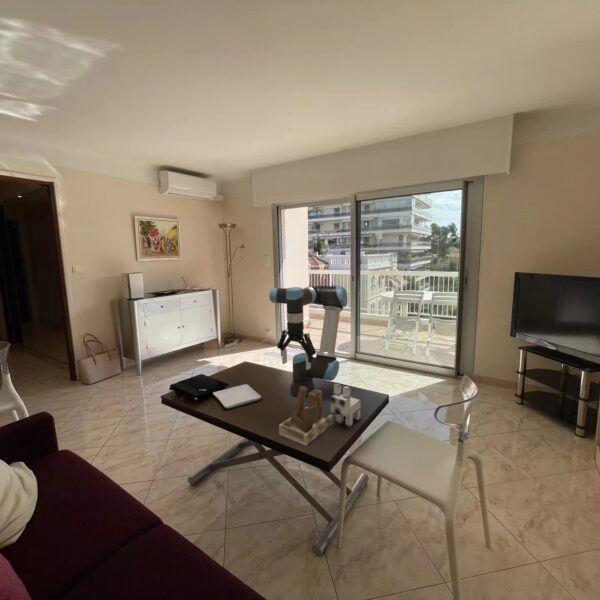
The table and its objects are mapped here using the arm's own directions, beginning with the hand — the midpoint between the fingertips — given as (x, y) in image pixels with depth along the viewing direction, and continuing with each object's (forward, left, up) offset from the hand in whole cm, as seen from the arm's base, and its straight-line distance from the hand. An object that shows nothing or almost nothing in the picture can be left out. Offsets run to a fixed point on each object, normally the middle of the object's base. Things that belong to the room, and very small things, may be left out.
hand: (296, 365), depth 148 cm
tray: (+1, +6, -29) cm, 30 cm away
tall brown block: (-6, +6, -28) cm, 29 cm away
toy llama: (-16, +18, -29) cm, 38 cm away
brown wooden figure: (+4, +5, -26) cm, 27 cm away
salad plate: (-1, -44, -30) cm, 53 cm away
